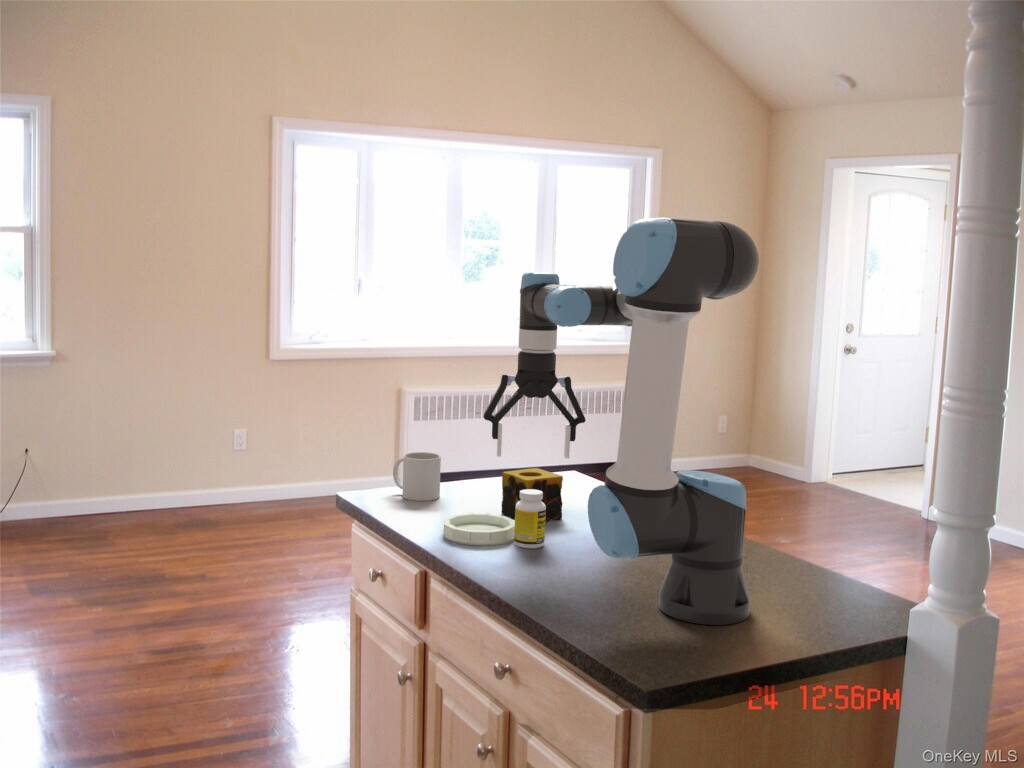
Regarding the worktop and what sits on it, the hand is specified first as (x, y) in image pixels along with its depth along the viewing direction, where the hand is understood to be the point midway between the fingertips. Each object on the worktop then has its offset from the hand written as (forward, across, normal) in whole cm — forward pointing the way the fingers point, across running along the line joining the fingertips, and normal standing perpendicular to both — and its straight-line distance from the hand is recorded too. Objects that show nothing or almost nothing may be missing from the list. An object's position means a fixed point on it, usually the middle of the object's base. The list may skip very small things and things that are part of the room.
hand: (532, 456), depth 202 cm
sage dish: (+18, +10, -6) cm, 22 cm away
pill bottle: (+18, 0, 0) cm, 19 cm away
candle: (+19, -2, -22) cm, 29 cm away
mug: (+19, +24, -39) cm, 49 cm away
